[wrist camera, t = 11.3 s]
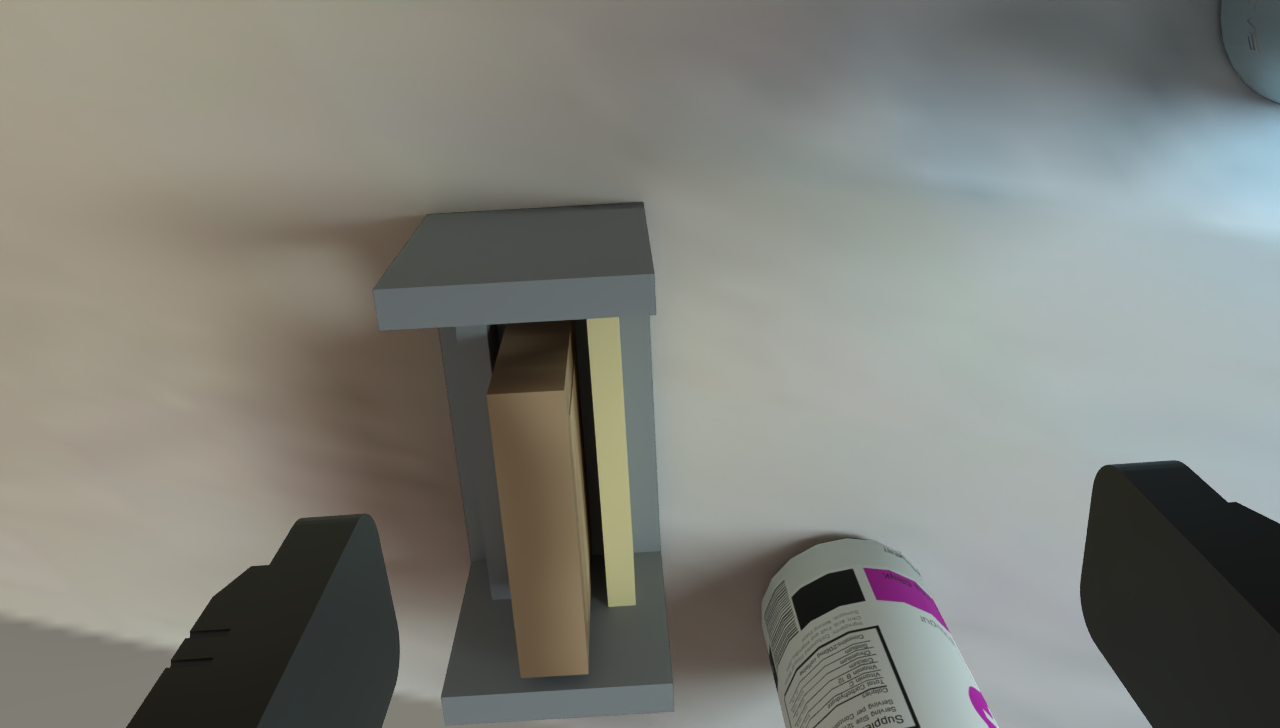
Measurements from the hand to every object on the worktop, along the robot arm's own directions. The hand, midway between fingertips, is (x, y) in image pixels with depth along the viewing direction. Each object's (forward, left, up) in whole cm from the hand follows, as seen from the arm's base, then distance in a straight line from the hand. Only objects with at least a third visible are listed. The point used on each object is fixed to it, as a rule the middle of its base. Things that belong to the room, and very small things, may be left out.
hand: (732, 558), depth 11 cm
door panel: (+5, +13, -29) cm, 32 cm away
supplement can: (-9, +24, -30) cm, 39 cm away
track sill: (+5, +12, -30) cm, 33 cm away
